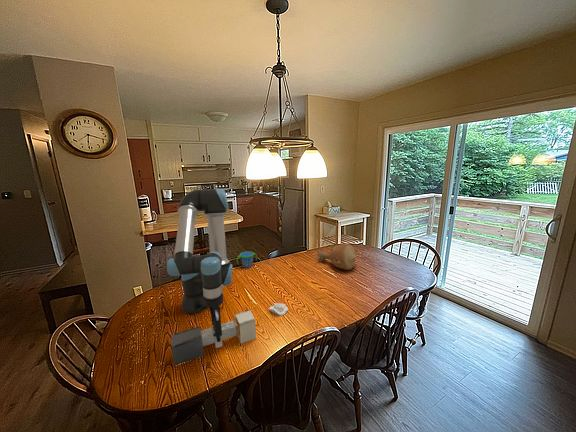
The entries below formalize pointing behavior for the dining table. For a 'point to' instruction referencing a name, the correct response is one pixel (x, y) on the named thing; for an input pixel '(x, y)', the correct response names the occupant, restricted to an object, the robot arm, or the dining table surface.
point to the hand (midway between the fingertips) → (217, 342)
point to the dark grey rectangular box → (187, 345)
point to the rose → (279, 309)
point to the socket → (246, 326)
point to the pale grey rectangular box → (227, 332)
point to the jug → (340, 256)
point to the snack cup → (246, 258)
